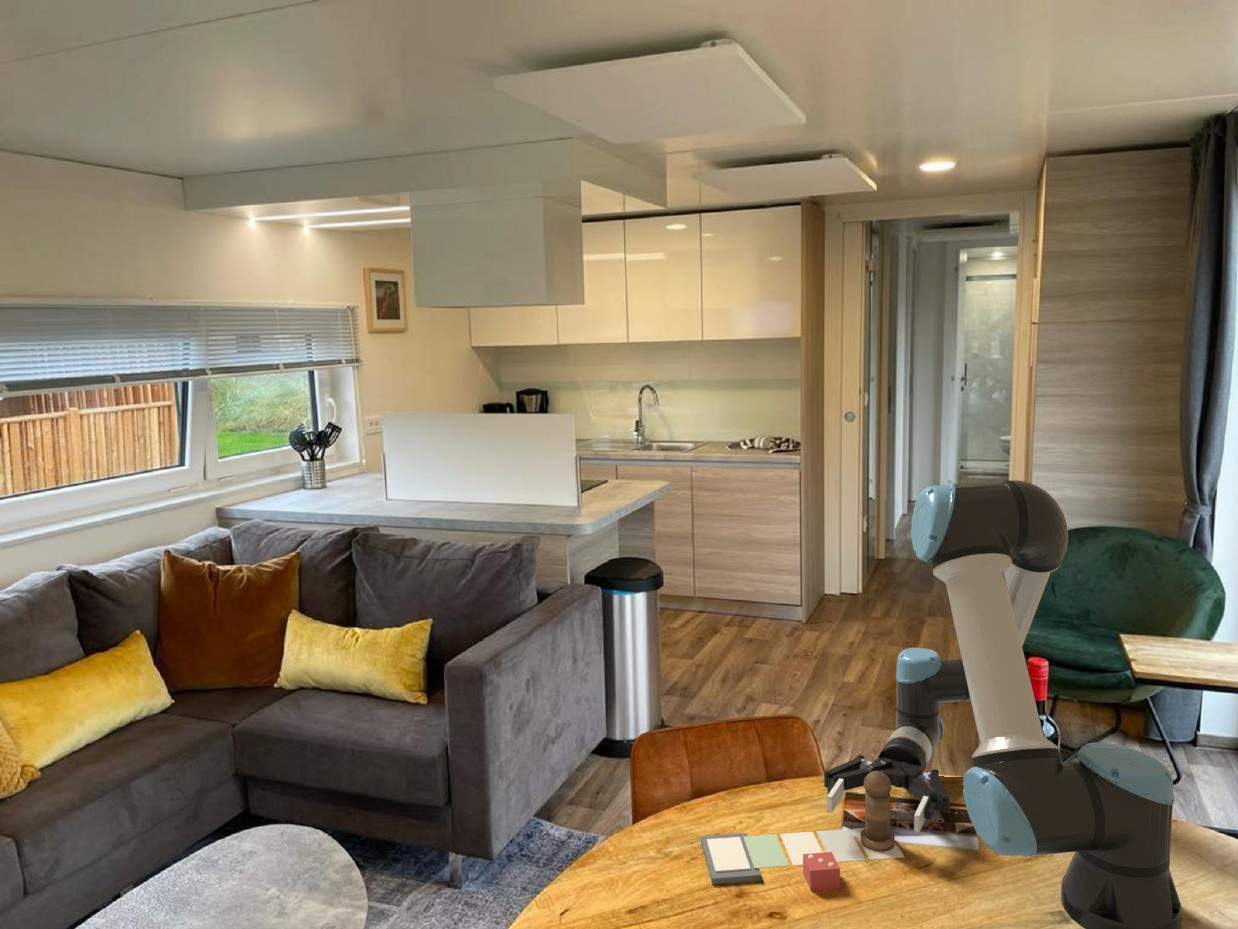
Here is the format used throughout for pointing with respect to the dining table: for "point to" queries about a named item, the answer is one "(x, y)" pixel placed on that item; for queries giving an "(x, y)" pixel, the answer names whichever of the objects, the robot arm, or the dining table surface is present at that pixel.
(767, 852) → the game board
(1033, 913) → the dining table surface
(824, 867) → the red die
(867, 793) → the pawn
